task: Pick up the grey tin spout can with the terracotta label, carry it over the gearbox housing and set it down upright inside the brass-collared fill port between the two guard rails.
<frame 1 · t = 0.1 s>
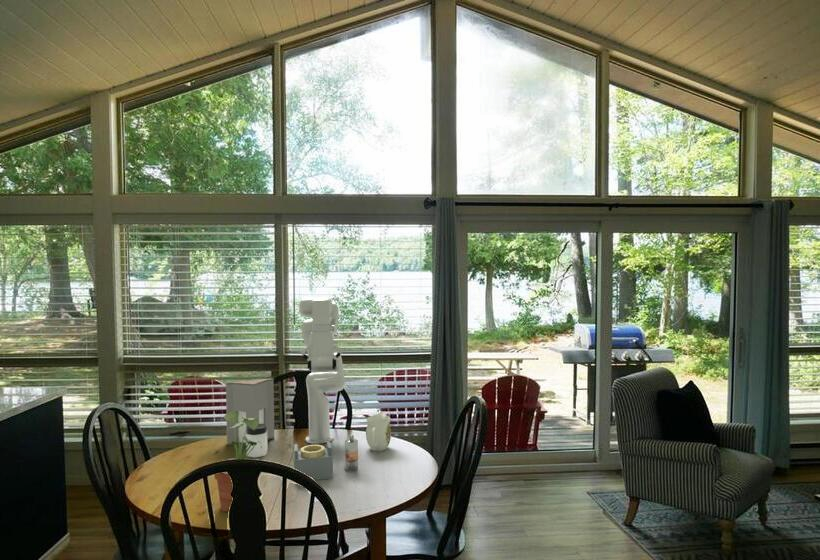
hand: (322, 369, 214), 37 cm above the table, tool pointing down, fingers open, 9 cm apart
pitcher: (378, 449, 224), on the table
potted plant: (239, 505, 171), on the table
gearbox: (313, 474, 196), on the table
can: (351, 469, 201), on the table
jar: (257, 454, 220), on the table
cabinet: (252, 444, 234), on the table
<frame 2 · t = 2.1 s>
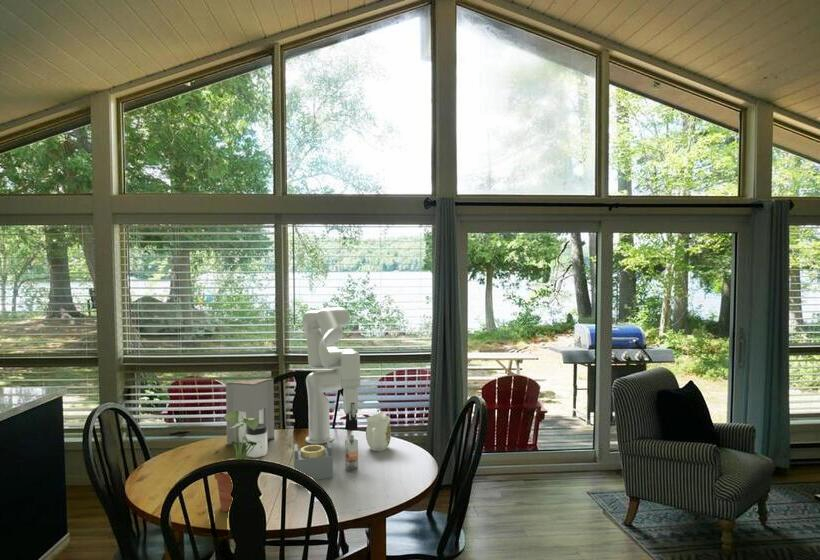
hand: (351, 427, 201), 17 cm above the table, tool pointing down, fingers open, 9 cm apart
nothing on the table moved.
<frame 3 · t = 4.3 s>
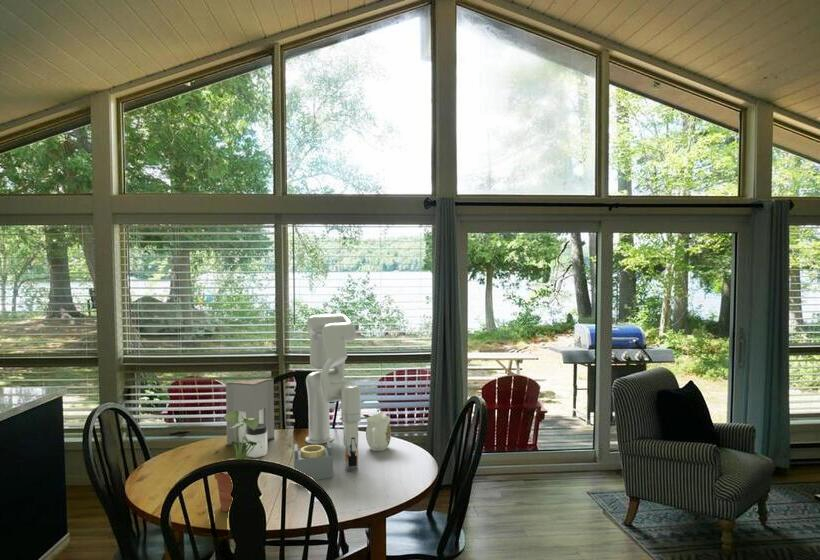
hand: (351, 462, 201), 2 cm above the table, tool pointing down, fingers closed on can, 5 cm apart
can: (351, 469, 201), on the table, touching gripper
everything else where it was.
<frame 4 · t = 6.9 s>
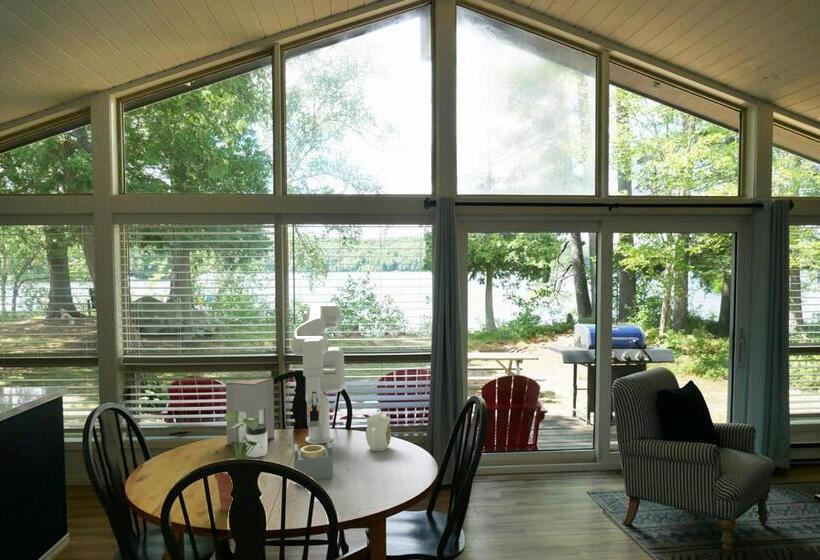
hand: (313, 418, 196), 21 cm above the table, tool pointing down, fingers closed on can, 5 cm apart
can: (314, 425, 196), point 19 cm above the table, touching gripper
everything else where it was.
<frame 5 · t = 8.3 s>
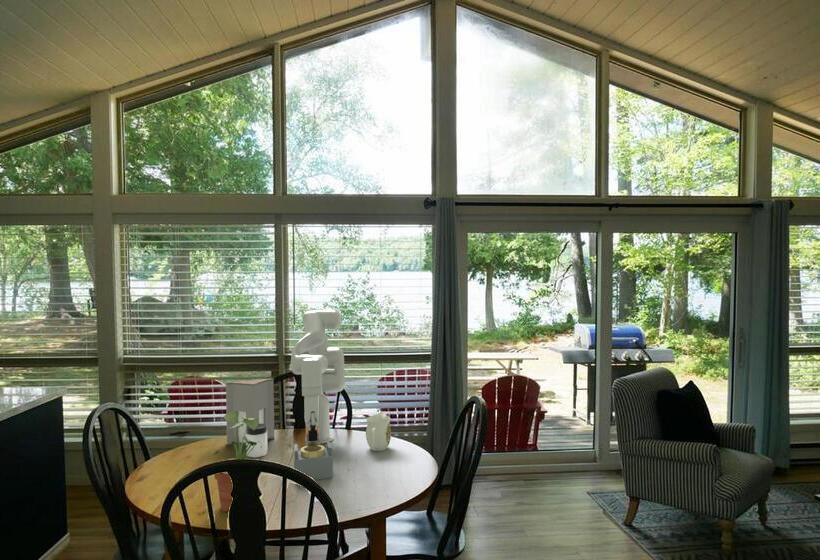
hand: (312, 438, 196), 14 cm above the table, tool pointing down, fingers closed on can, 5 cm apart
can: (312, 444, 196), point 12 cm above the table, touching gripper
everything else where it was.
when the fingers open (12 cm above the table, at t = 9.5 s): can drops 1 cm, resting on gearbox.
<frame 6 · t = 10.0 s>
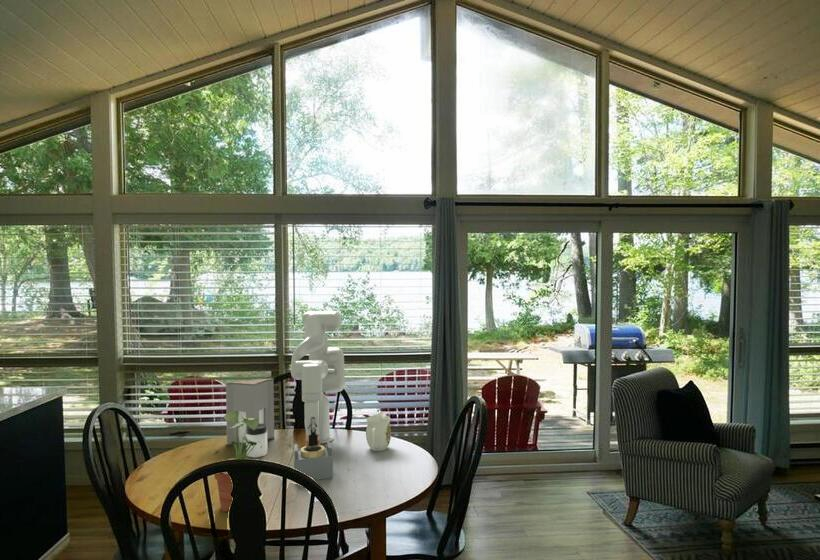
hand: (312, 441, 196), 13 cm above the table, tool pointing down, fingers open, 9 cm apart
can: (312, 453, 196), point 8 cm above the table, touching gearbox
everything else where it was.
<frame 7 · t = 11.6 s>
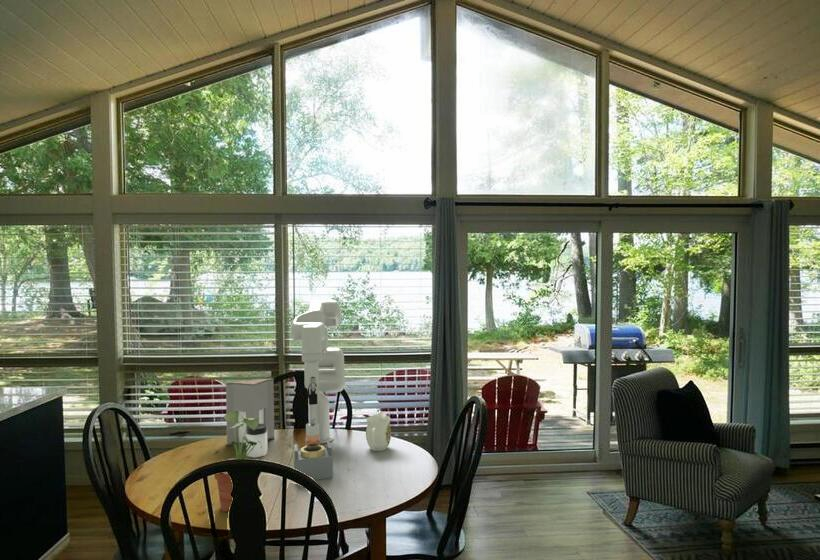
hand: (312, 400, 199), 27 cm above the table, tool pointing down, fingers open, 9 cm apart
nothing on the table moved.
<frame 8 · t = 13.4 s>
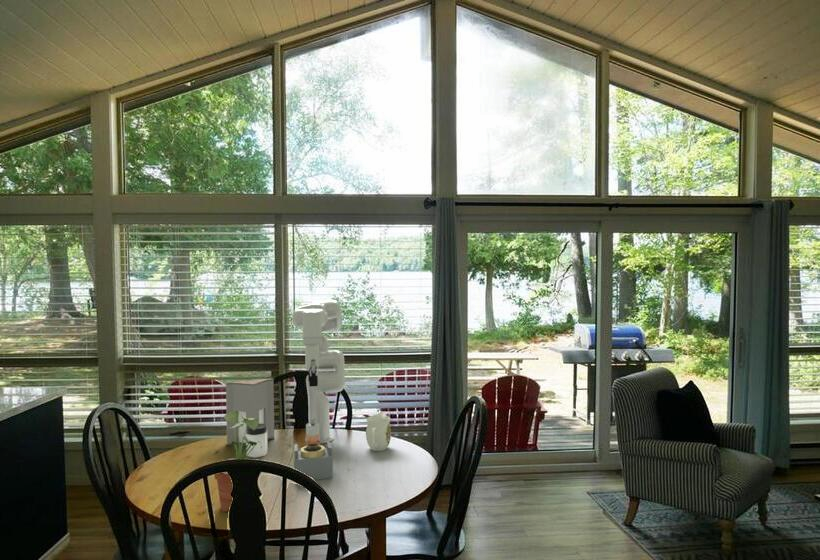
hand: (312, 383, 208), 32 cm above the table, tool pointing down, fingers open, 9 cm apart
nothing on the table moved.
at the end: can 0.2 cm off-centre on the gearbox, point 8.1 cm above the gearbox's base; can tilted 0°; the gripper is holding nothing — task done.
